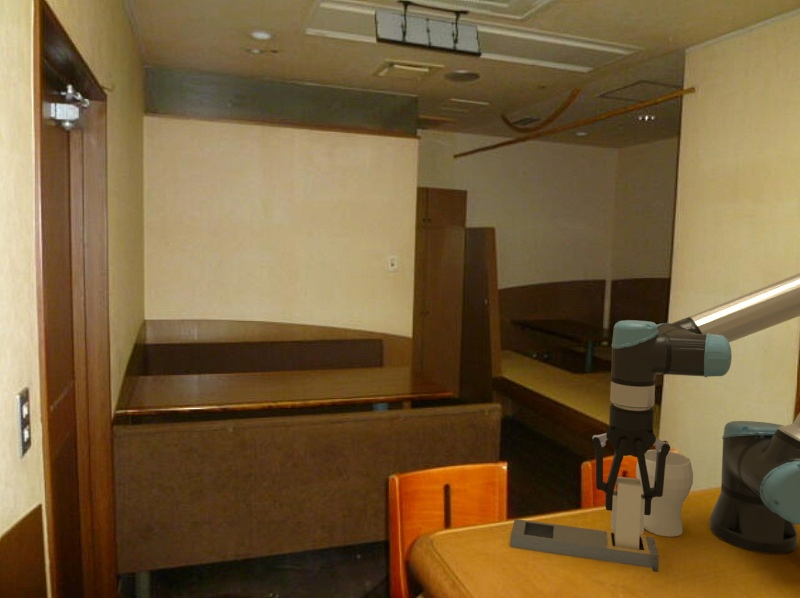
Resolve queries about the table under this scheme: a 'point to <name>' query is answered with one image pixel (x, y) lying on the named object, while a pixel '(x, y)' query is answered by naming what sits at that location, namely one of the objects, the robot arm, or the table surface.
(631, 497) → the peg
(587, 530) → the grey peg hole board
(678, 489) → the cup
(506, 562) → the table surface
